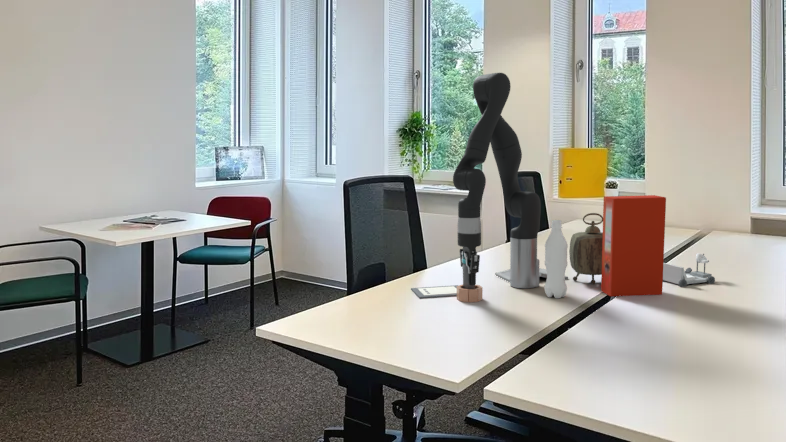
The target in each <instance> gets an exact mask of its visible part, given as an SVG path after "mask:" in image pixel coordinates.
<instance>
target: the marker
mask: <svg viewBox="0 0 786 442" xmlns="http://www.w3.org/2000/svg"><path fill="white" fill-rule="evenodd" d="M462 263H463V269H462V285H463V289H475V285H476V284H475V285H469V273H468V267H467V266H466V259H462ZM469 264H471V263H469ZM473 269H474V267H473Z"/></svg>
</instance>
